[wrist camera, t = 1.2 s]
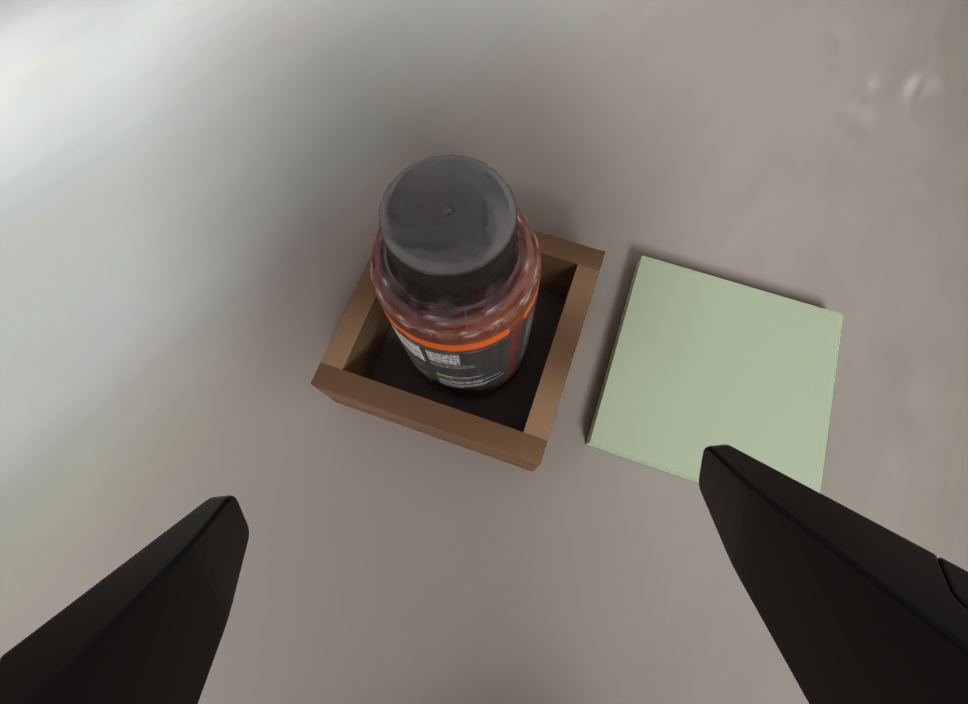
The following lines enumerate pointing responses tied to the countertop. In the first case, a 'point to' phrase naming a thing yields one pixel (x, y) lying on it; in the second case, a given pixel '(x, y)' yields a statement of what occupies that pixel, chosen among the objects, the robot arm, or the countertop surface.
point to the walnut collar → (348, 384)
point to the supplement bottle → (457, 273)
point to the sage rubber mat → (717, 375)
